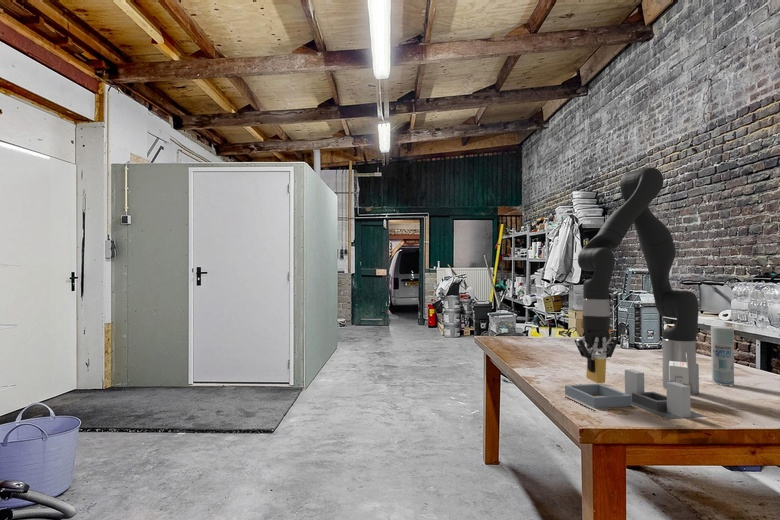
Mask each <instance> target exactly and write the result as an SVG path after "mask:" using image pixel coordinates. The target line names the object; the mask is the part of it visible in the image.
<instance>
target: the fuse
mask: <svg viewBox="0 0 780 520" xmlns="http://www.w3.org/2000/svg"><path fill="white" fill-rule="evenodd" d="M586 360H587V359H586ZM594 360H595V372H594V373H592V372H590V371H589V370H588V360H587V361H586V379H587V380H590V381H592V382H593V383H595V384H605V383H606V372H607V371H606V369H607V358H606V356H605V355H602V354H599V353H597V352H596V353H595V359H594Z"/></svg>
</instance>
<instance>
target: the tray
mask: <svg viewBox="0 0 780 520" xmlns="http://www.w3.org/2000/svg"><path fill="white" fill-rule="evenodd" d="M597 394H598V395H601V396H594V395H597ZM564 395H565V396H564V398H565V399H567V400H569V401H571V400H572V401H571V402H573V401H574V402H573V403H575V402H576V403H575V404H577V403H578V405H579V404H580V406H581V407H583V408H586V409H588V410H590V409H591V410H590V411H592V410H593V411H592V412H594V411H596V409H602V408H604V409H605V408H618V407H619V408H620V407H621V408H622V407H632V404H631V396H630V395H628V394H625V392H622V391H620V390H617V389H615V388H614V389H613V388H612V387H609V386H606V385H604V384H602V383H587V384H586V383H584V384H583V383H582V384H569V385H568V384H565V385H564ZM569 397H570V398H569Z"/></svg>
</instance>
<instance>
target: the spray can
mask: <svg viewBox="0 0 780 520" xmlns="http://www.w3.org/2000/svg"><path fill="white" fill-rule="evenodd" d="M734 329H735V328H734V327H731V326H723V325H722V326H720V325H713V326H712V325H711V326H710V350H711V351H710V353H711V358H710V359H711V382H713V383H716V384H721V385H734V386H735V342H734V341H735V336H734V335H735V334H734V333H735V332H734V331H735V330H734ZM713 383H712V384H713ZM716 384H715V385H716Z"/></svg>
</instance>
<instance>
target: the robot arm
mask: <svg viewBox="0 0 780 520" xmlns="http://www.w3.org/2000/svg"><path fill="white" fill-rule="evenodd" d="M663 186H664V176H663V174H662V172H661V170H659V169H658V168H656V167H645V168H641V169H637V170H632V171H628V172H625V173H624V174H623V175H622V176H621V178H620V181H619V188H620V192H621V196H622V198H623V200H624V203H622V205H621V206H619V207H618V208H617V209H616V210H615V211H614V212H612V213H611V214H609V216H608V217H607V218H606V219H605V221H604V223H603V224H602V226H601V228H599V230H598V232H597V234H596V235H595V236H594V237H592V238H591V239H590V240H589V241H588V242H587V243H586V244H585V245H584V246H583V247H582V248H581V250H580V252H579V254H578V256H577V264H578V267H579V268H580V269H581V270H583V271H584V272H585V271H586V272H593V274H592V278H589V279H586V280H585V281H584V282H583V287H582V290H583V291H582V292H583V293H582V294H583V296H582V297H583V301H582V330H583V331H582V335H581V337H579V338H575V339H574V344H575V345H576V347H577V350H578V351H579V354H580V356H581V357H582V358H585V359H586V360H588V370H589V371H590V372H592V373H594V372H595V360H594V359H595V353H596V352H597V353H599V354H602V355H605V356H606V359H608V358H611V357H612V356H613V354H614V351H615V349H616V346H617V345H618V343H619V340H618V339H617V338H614V337H612V336H611V334H610V330H611V306H610V290H609V289H610V283H611V280H612V276H613V273H614V269H615V265H616V259H615V255H614V253H613V251H612V250H615V249H616V248H618V247H619V246H620V244H621V243H622V242H623V240H624V238H625V236H626V235H627V233H628V231H629V230H630V228H631V226H633V224H634V228H635V230H636V235H637V237H638V241H639V242H638V243H639V245H640V249H641V252H642V255H643V257H644V260H645V264H646V267H647V271H648V275H649V278H650V283H651V289H652V294H653V300H654V304H655V308H656V311H657V312H658V314H660V315H661V316H662V317H665V318H671V319H675V325H673V326H671V327H669V328H665V329H663V330H662V333H661V341H662V342H661V344H662V346H661V347H662V348H661V349H662V351H661V352H662V388H663V389H665V390H667V382H669V361H677V362H687V360H688V370H689V386H690V396H696V395H697V394H700V374H699V373H700V372H699V371H700V370H699V369H700V368H699V367H700V365H699V363H697V351H696V350H697V345H696V344H697V343H696V338H697V337H696V336H697V333H698V329H699V327H698V326H699V301H698V298H697V296H696V294H695V293H694V292H692V291H688V290H673V288H672V286H671V281H670V271H671V269H672V266H673V263H674V261H675V258H676V256H677V255H676V246H675V242H674V240H673V236H672V233H671V231H670V230H669V228H668V227H667V226H666V225H665V224H664V223H663V222H662V221H661V220H660V219H659V218H658V217H657V216H656V215H655V214H654V213H653V212H652V211H651V209H650V208H649V207H650V206H649V205H650V204H651V202H653V200H654V199H656V197H657V196H658V195H659V193H660V192H661V191H662V188H663ZM686 353H687V359H686Z"/></svg>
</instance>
